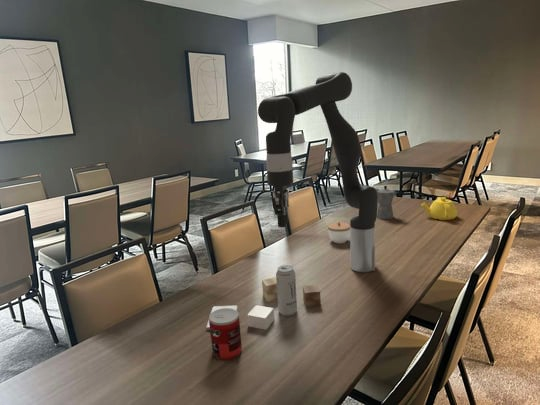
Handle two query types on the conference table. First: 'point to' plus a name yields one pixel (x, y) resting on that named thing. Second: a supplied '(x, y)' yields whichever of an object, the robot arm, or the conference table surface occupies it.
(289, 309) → the energy drink can
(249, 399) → the conference table surface
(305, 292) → the walnut block
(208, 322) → the external hard drive
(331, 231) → the lidded jar
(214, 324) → the canned food
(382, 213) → the coffeepot
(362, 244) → the robot arm
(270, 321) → the pale grey block
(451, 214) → the teapot
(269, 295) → the oak block
